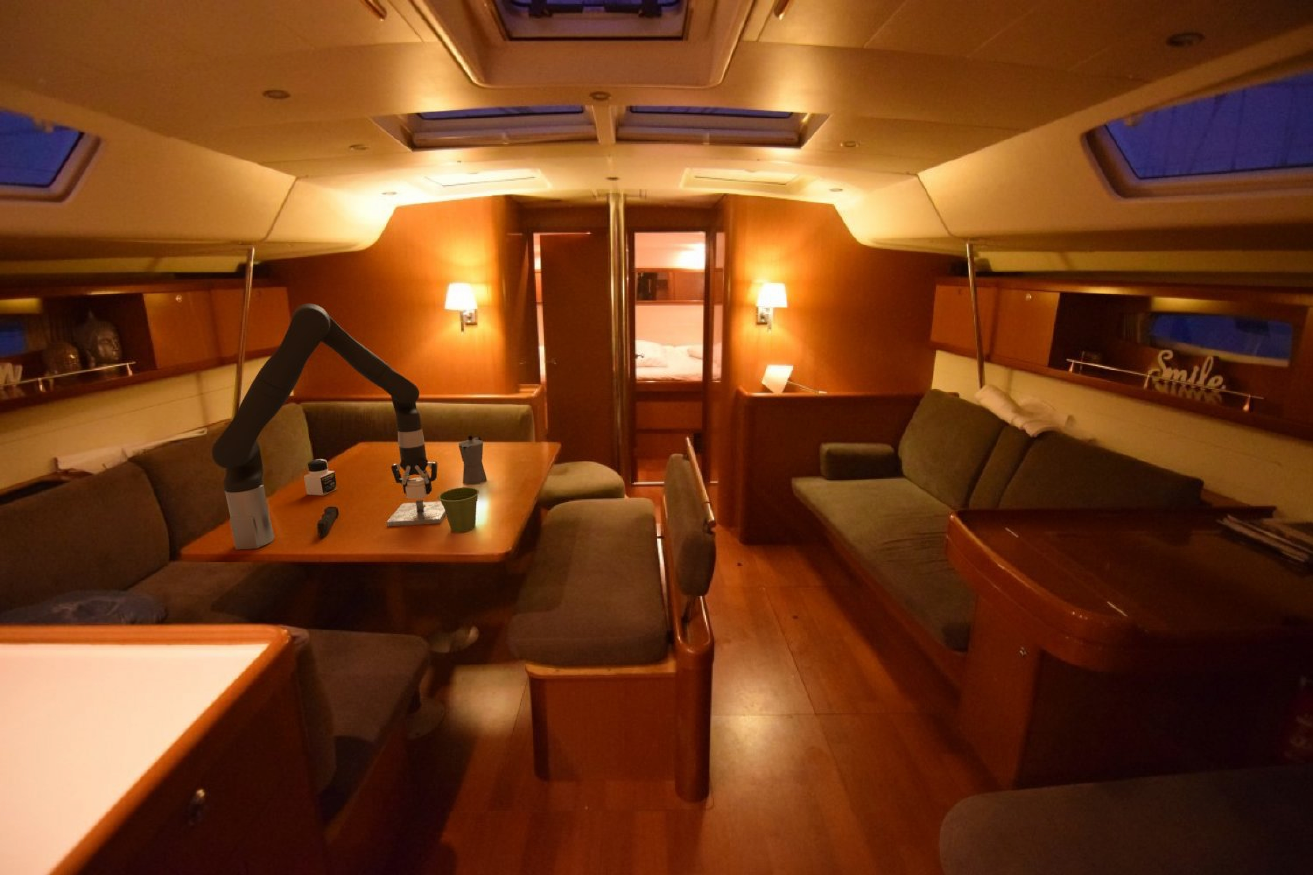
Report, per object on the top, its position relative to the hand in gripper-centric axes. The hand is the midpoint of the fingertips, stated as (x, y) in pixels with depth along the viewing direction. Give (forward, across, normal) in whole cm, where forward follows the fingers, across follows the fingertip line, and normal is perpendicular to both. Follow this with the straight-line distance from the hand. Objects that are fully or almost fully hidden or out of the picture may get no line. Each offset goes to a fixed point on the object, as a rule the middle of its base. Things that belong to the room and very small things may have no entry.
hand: (418, 493), depth 190 cm
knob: (+1, 0, 0) cm, 1 cm away
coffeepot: (+8, -11, -34) cm, 37 cm away
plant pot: (+8, -16, +13) cm, 22 cm away
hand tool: (+8, +26, +6) cm, 28 cm away
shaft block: (+7, 0, 0) cm, 7 cm away
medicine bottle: (+8, +43, -29) cm, 52 cm away
